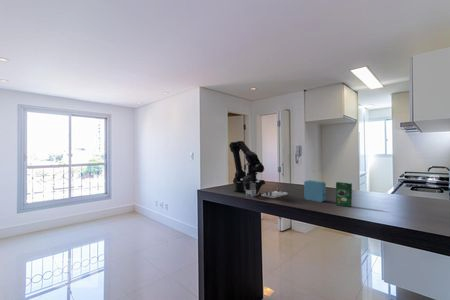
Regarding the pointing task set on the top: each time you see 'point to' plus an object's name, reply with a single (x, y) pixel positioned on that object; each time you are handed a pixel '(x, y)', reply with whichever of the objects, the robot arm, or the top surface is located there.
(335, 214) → the top surface
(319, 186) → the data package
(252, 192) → the drive
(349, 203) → the coffee box
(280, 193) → the pin tray
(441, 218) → the top surface
